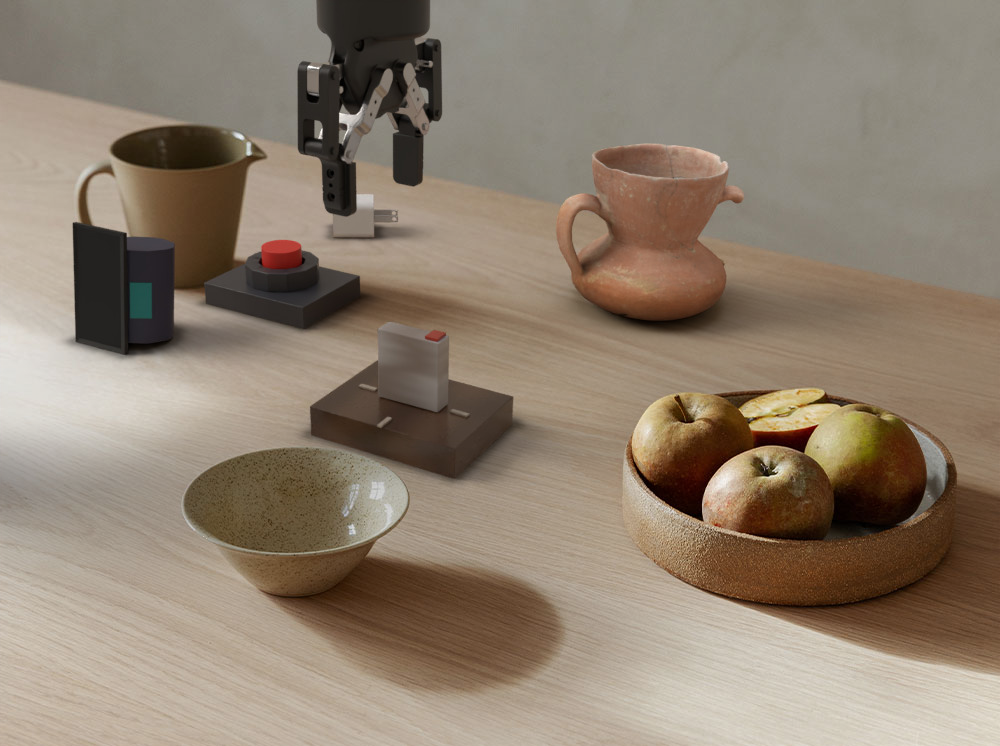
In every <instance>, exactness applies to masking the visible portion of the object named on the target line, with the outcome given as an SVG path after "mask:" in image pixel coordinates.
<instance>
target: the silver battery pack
mask: <svg viewBox="0 0 1000 746" xmlns="http://www.w3.org/2000/svg"><path fill="white" fill-rule="evenodd" d="M377 360H378V381H379V397H382V398H386V399H390V400H393V401H397V402H401V403H404V404H408V405H412V406H415V407H419V408H423V409H426V410H430V411H434V412H439V411H440V410H441V409H443V408H444V407H445V406H446V405H447V404H448V379H449V375H450V374H449V372H450V371H449V370H450V369H449V368H450V335H447V332H445V331H441V330H438V329H432V330H428V329H423V328H419V327H414V326H411V325H407V324H402V323H398V322H393V321H387V322H385V323H384V324H383V325H381V326H379V327H378V328H377Z"/></svg>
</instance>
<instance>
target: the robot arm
mask: <svg viewBox="0 0 1000 746" xmlns="http://www.w3.org/2000/svg"><path fill="white" fill-rule="evenodd" d="M315 1H316V3H315V4H316V5H315V6H316V25H317V28H318V30H319V31H320V32H321V33H323V34H325V35H326V36H327V37H328V38H329V40H330V44H331V45H330V52H329V57H328V60H327V62H315V61H306V60H302V61H300V62H299V64H298V66H297V70H296V71H297V72H296V73H297V83H296V84H297V151H298V154H300V155H303V156H307V157H308V156H309V157H313V158H317V159H318V160H319V161H320V164H321V182H322V183H321V184H322V202H323V205H324V209H325V211H326V212H327V213H328V214H332V215H333V214H335V215H340V216H344V217H348V216H350V215H352V214H354V213H356V210H357V194H358V193H357V162H356V161H354V159H355V157H356V155H357V151H358V149H359V146H360V143H361V141H362V138H363V137H364V136H365V135H368V134H369V133H370V132H371V131H372V129H373V125H374V123H375V120H377V119H380V118H381V117H383V116H384V115H385V114H386V115H387V117H388V120H389V121H390V123H391V125H392V127H393V129H394V130H395V131H396V132H394V133H392V179H393V181H394V182H395V183H396V184H398V185H403V186H408V187H412V188H413V187H416V186H419V185H421V184H422V183H423V180H424V145H425V144H424V142H425V141H424V139H425V138H424V136H426V135H427V134H428V132H429V131H430V125H431V123H432V122H439V121H440V120H441V118H442V116H443V73H442V71H443V69H442V67H443V65H442V64H443V63H442V43H441V40H440V39H439V38H432V37H431V38H430V37H425V36H426V34H427V33H429V30H430V29H431V0H315ZM423 36H424V37H423ZM421 89H426V91H427V102H426V99H425V97H424V95H423V92H422V91H421ZM343 107H344V109H345V111H346V112H347V113H344V112H341V110H342V108H343ZM315 121H316V122H317V121H318V122H319V123H320V124H321V130H320V132H319V135H318V137H316V136H315V134H316V133H315V132H316V131H315V130H316V129H315V127H316V126H315V125H316V123H315ZM340 131H346V132H345V134H344V137H343V140H342V143H341V142H340Z"/></svg>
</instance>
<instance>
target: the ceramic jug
mask: <svg viewBox="0 0 1000 746" xmlns="http://www.w3.org/2000/svg"><path fill="white" fill-rule="evenodd" d="M591 170H592V178H593V185H594V189H595V193H596V195H594V194H590V193H577V194H574V195H571V196H570V197H567V198H566V199H565V200H564V201H563V203H562V204H561V206H560V207H559V211H558V213H557V217H556V225H555V227H556V228H555V233H556V240H557V244H558V248H559V251H560V253H561V254H562V257H563V259H564V260H565V262H566V264H567V265H568V268H569V270H570V274H571V275H570V277H571V282H572V285H574V288H575V289H576V290H577V292H578V293H579V294H580V295H581V296H582V297H583V298H584V299H586V300H587V301H588V302H590V303H592V304H593V305H595V306H597V307H598V308H601V309H603V310H605V311H607V312H610V313H613V314H615V315H619V316H622V317H625V318H630V319H635V320H641V321H651V322H652V321H653V322H655V321H656V322H657V321H658V322H665V321H666V322H667V321H675V320H676V321H677V320H681V319H686V318H689V317H692V316H695V315H698V314H701V313H703V312H704V311H705V312H706V311H707V310H709V309H710V308H712V307H713V306H714V305H715V304H717V302H718V301H719V300H720V298H721V297H722V295H723V294H724V292H725V290H726V289H725V288H726V286H727V272H726V269H725V268H726V267H725V265H726V264H725V262H724V259H721V258H720V257H718V256H717V254H715V253H714V252H713V251H712V250H710V249H709V247H707V246H706V245H704V244H703V243H702V242H701V241H700V240H699V239H698V238H699V237H700V235H701V234H702V232H703V231H704V229H705V228H706V226H707V224H708V223H709V221H710V220H711V218H712V216H713V214H714V213H715V210H716V209H717V206H718V205H719V204H722V203H724V202H728V201H732V203H734V204H737V205H739V204H741V203H742V202H743V201H744V199H745V195H744V191H743V189H742V188H739V187H738V186H736V185H729V184H727V181H728V177H729V171H730V167H729V163H728V162H727V161H726V160H724V161H722V159H721V156H719V155H718V154H715V153H713V152H711V151H707V150H704V149H700V148H697V147H692V146H684V145H675V144H674V145H673V144H672V145H668V144H664V143H638V144H637V143H636V144H635V143H634V144H629V145H618V146H614V147H613V146H611V147H606V148H601V149H599V150H596V151H594V152H592V155H591ZM726 184H727V185H726ZM582 211H588V212H591V213H594V214H595V215H597V216H598V217H599V218H600V219H602V220H603V221H604V222H605V225H606V227H607V230H608V231H607V232H605V234H603V235H602V236H599V237H597V238H596V239H594V240H593V241H591V242H589V243H588V244H587V245H585V246H583V248H581V249H580V250H579V252H578V253H577V252H576V249H575V246H574V242H573V225H574V222H575V220H576V217H577V215H578V214H579V212H582Z"/></svg>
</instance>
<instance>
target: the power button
mask: <svg viewBox="0 0 1000 746" xmlns="http://www.w3.org/2000/svg"><path fill="white" fill-rule="evenodd" d="M260 249H261V250H260V252H262V265H263V267H266V268H271V269H289V268H295V267H298V266H300V265H302V250H303V249H302V244H301V243H300V242H298V241H295V240H293V239H274V240H270V241H266V242H264V243H262V245H261V246H260Z"/></svg>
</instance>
